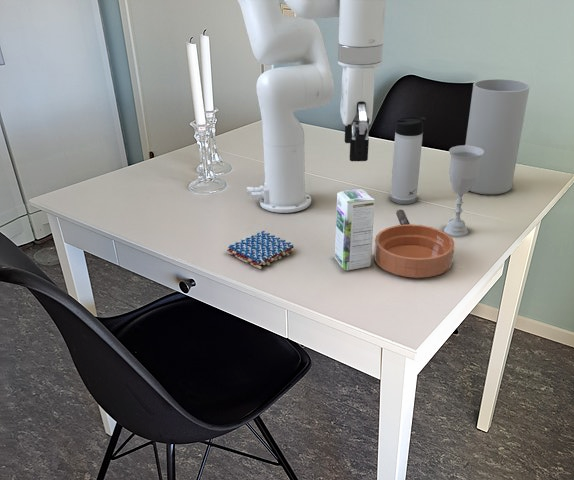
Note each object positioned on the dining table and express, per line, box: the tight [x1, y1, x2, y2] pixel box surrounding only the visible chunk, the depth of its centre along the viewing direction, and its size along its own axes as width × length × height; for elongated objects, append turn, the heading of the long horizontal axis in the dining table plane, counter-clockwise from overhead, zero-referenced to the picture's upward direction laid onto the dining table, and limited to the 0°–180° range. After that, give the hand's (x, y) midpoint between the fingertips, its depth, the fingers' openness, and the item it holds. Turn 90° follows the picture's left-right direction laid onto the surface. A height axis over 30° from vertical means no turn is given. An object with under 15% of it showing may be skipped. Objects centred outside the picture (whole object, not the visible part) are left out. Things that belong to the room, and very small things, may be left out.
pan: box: [373, 223, 455, 278], centre depth 120 cm, size 15×15×4 cm
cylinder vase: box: [464, 78, 531, 196], centre depth 147 cm, size 12×12×25 cm
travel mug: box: [390, 116, 426, 205], centre depth 143 cm, size 6×7×20 cm
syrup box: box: [334, 189, 376, 272], centre depth 118 cm, size 6×6×14 cm
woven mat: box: [226, 230, 295, 271], centre depth 125 cm, size 10×11×2 cm
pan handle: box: [395, 208, 411, 225], centre depth 129 cm, size 9×2×2 cm, turn 1°
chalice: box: [443, 144, 484, 237], centre depth 128 cm, size 7×7×18 cm
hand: (355, 151), depth 112 cm, fingers open, 9 cm apart
